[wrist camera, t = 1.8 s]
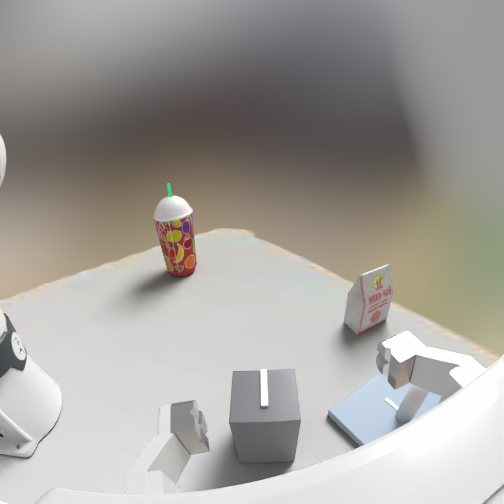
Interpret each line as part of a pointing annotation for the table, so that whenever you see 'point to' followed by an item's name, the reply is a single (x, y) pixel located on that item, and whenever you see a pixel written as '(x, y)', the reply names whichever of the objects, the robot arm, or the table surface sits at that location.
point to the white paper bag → (369, 299)
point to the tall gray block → (265, 415)
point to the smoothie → (176, 234)
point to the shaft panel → (380, 409)
